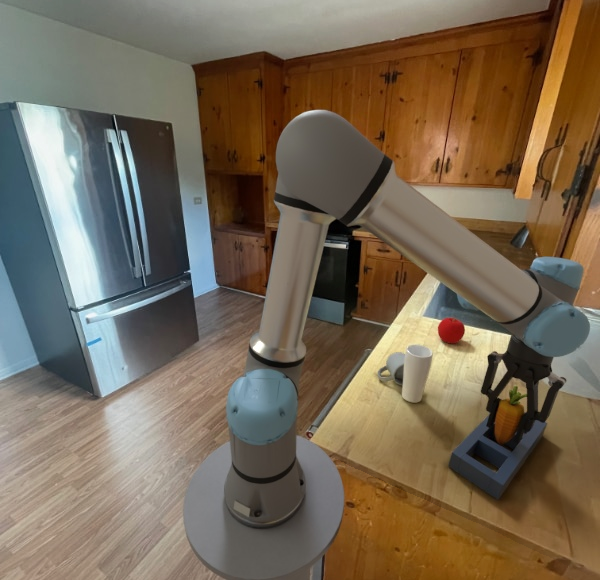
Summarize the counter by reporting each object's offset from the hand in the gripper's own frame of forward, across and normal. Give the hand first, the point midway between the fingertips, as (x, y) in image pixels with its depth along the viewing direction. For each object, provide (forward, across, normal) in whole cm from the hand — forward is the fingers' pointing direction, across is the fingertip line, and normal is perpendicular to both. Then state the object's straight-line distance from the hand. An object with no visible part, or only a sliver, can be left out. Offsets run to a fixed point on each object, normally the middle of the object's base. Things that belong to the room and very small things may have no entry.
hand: (503, 431), depth 72 cm
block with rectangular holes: (+6, 0, 0) cm, 6 cm away
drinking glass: (+6, +23, -1) cm, 24 cm away
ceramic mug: (+6, +31, -5) cm, 32 cm away
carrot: (+4, 0, 0) cm, 4 cm away
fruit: (+6, +33, -41) cm, 53 cm away
